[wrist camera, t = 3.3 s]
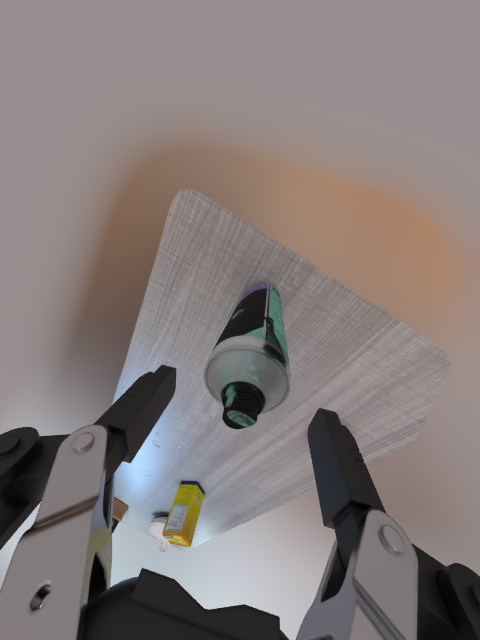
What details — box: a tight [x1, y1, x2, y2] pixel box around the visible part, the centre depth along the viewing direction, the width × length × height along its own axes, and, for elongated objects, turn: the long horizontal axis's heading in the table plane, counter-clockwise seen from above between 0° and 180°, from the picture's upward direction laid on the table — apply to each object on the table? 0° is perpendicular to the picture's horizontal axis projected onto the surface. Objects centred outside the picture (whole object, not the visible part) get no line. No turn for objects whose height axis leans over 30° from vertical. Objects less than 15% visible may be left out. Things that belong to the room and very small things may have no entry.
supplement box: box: [162, 482, 205, 547], centre depth 49 cm, size 6×6×11 cm
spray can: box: [204, 281, 291, 429], centre depth 18 cm, size 6×6×20 cm
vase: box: [149, 517, 171, 552], centre depth 65 cm, size 16×16×7 cm
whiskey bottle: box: [112, 498, 128, 533], centre depth 56 cm, size 10×10×32 cm
